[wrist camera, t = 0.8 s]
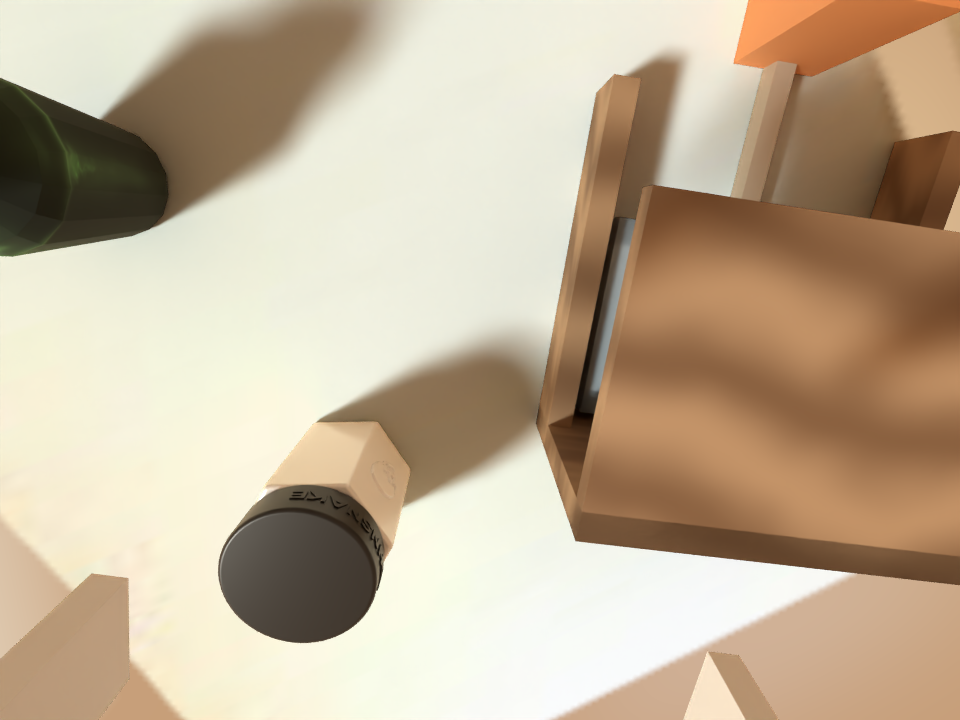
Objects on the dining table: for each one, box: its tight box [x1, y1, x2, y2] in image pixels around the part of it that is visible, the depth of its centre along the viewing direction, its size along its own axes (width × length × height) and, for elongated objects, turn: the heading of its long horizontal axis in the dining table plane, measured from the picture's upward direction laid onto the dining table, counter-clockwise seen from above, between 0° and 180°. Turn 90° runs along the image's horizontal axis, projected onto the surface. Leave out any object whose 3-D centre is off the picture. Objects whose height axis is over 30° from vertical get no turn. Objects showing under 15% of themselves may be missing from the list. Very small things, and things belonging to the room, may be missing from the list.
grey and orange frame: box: [576, 0, 960, 414], centre depth 29 cm, size 27×16×10 cm, turn 172°
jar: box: [218, 421, 411, 643], centre depth 32 cm, size 9×8×12 cm
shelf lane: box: [536, 74, 960, 585], centre depth 28 cm, size 22×21×14 cm
